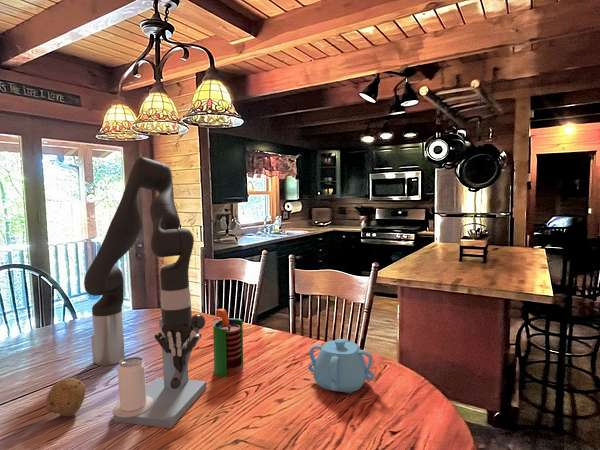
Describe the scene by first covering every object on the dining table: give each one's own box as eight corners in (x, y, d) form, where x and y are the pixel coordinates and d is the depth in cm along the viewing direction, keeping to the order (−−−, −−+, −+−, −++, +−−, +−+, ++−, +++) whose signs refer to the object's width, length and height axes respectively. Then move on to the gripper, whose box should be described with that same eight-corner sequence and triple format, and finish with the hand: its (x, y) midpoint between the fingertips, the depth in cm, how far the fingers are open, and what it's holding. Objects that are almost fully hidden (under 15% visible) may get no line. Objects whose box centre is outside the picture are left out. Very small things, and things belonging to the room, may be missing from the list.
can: (126, 399, 105) (123, 356, 104) (150, 398, 106) (147, 355, 105) (115, 412, 99) (112, 367, 98) (141, 411, 99) (138, 366, 98)
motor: (235, 378, 121) (233, 315, 119) (209, 376, 123) (206, 314, 121) (246, 364, 131) (244, 306, 129) (221, 362, 132) (219, 305, 131)
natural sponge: (46, 430, 96) (43, 391, 95) (47, 413, 103) (44, 377, 103) (88, 418, 101) (85, 381, 100) (85, 403, 108) (83, 368, 107)
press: (104, 422, 99) (98, 337, 97) (152, 382, 119) (148, 311, 117) (168, 430, 95) (164, 342, 93) (206, 387, 115) (203, 314, 113)
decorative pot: (353, 368, 126) (352, 327, 125) (378, 392, 111) (378, 345, 110) (306, 377, 121) (305, 334, 120) (326, 403, 106) (325, 354, 105)
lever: (169, 391, 103) (162, 384, 100) (195, 319, 118) (190, 311, 114) (184, 392, 102) (178, 386, 99) (209, 319, 117) (204, 311, 113)
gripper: (205, 301, 104) (208, 363, 106) (161, 299, 107) (165, 360, 108) (192, 309, 97) (196, 376, 98) (145, 307, 100) (149, 372, 101)
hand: (179, 367), depth 103 cm, fingers closed
